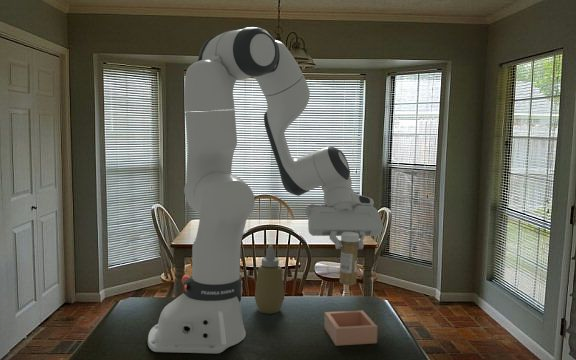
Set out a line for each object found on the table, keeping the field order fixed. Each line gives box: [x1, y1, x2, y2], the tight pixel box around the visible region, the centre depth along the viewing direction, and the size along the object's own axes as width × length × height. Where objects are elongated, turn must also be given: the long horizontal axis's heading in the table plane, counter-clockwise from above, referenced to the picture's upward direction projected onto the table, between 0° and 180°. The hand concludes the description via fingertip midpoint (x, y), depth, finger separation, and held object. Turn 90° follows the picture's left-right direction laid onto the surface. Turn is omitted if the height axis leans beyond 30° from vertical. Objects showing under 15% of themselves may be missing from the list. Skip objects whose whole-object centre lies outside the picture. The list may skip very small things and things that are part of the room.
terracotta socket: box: [323, 309, 378, 347], centre depth 113 cm, size 10×10×4 cm
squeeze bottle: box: [254, 244, 285, 315], centre depth 126 cm, size 8×8×18 cm
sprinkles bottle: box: [338, 232, 360, 286], centre depth 122 cm, size 5×5×13 cm
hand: (350, 248), depth 122 cm, fingers closed on sprinkles bottle, 4 cm apart
